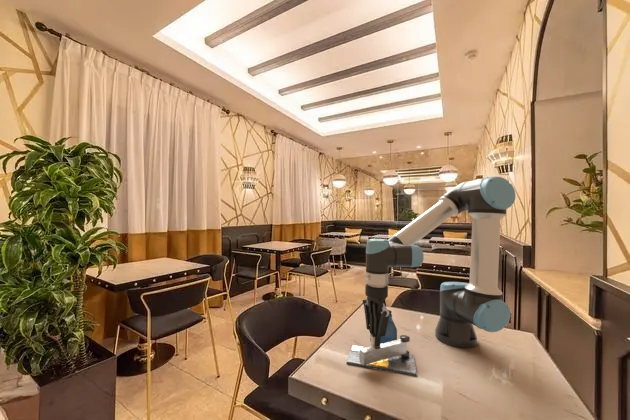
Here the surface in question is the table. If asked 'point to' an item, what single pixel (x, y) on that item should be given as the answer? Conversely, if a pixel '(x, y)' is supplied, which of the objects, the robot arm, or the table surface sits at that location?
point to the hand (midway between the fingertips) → (375, 353)
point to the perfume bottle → (390, 331)
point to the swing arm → (384, 350)
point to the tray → (385, 362)
